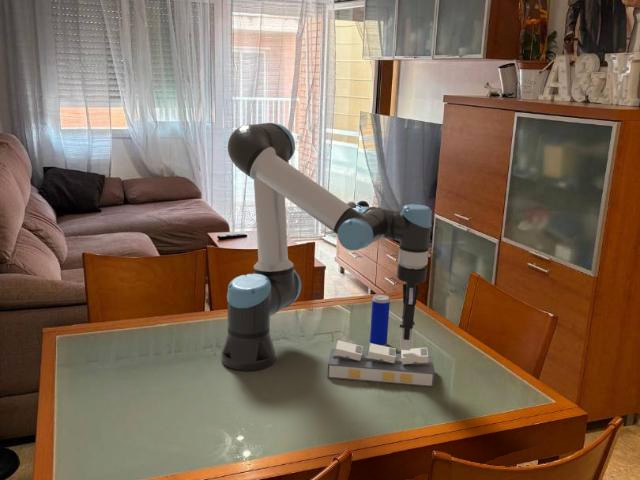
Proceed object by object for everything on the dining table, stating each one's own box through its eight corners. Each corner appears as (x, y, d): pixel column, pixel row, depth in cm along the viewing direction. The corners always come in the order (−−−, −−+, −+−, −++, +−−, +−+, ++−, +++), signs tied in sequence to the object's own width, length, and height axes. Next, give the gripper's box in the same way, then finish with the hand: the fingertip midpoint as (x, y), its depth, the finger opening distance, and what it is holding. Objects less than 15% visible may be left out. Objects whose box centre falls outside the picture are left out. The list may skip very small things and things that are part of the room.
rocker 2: (367, 359, 164) (369, 351, 163) (368, 350, 169) (370, 342, 169) (393, 365, 163) (395, 356, 163) (393, 356, 169) (395, 348, 168)
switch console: (326, 378, 164) (327, 362, 162) (330, 361, 174) (331, 346, 173) (433, 387, 161) (435, 371, 160) (431, 369, 171) (432, 354, 170)
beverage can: (386, 341, 189) (389, 294, 185) (386, 347, 184) (390, 300, 180) (369, 339, 189) (372, 293, 186) (369, 346, 185) (372, 299, 181)
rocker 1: (334, 356, 165) (336, 348, 164) (336, 347, 170) (338, 339, 169) (359, 362, 164) (361, 354, 164) (360, 353, 170) (362, 345, 169)
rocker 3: (402, 366, 163) (401, 357, 163) (401, 357, 168) (401, 348, 168) (428, 364, 162) (428, 355, 162) (427, 355, 168) (426, 346, 167)
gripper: (428, 273, 152) (420, 360, 158) (426, 259, 165) (418, 340, 171) (398, 271, 153) (390, 358, 159) (397, 256, 166) (391, 338, 172)
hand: (405, 348), depth 165 cm, fingers closed
